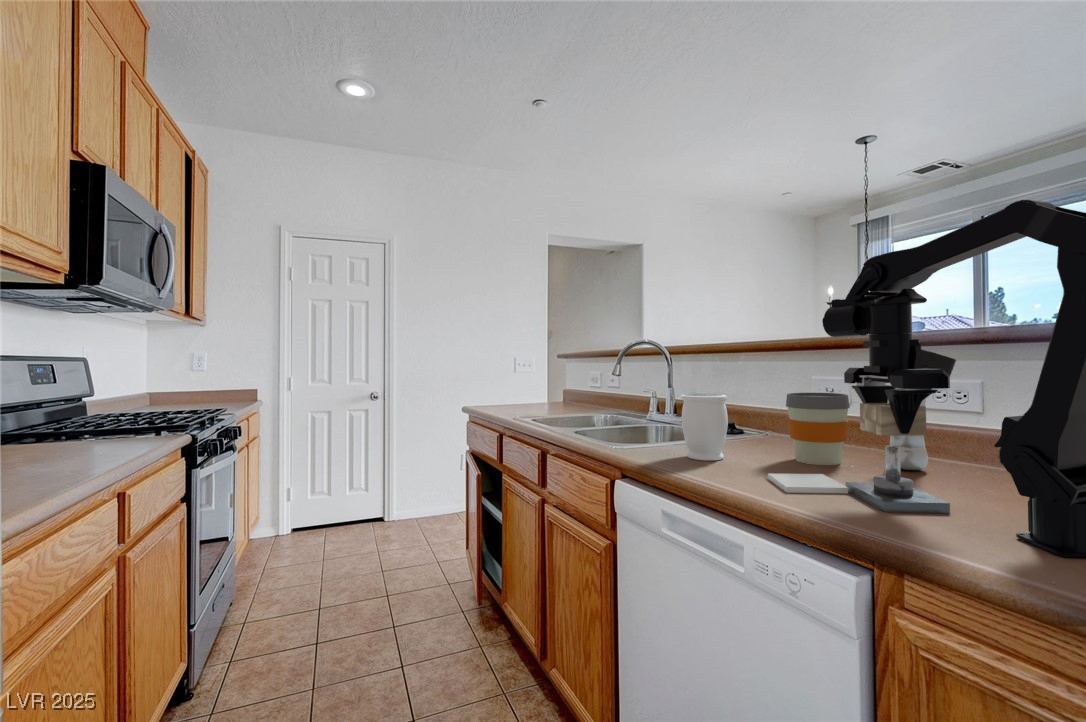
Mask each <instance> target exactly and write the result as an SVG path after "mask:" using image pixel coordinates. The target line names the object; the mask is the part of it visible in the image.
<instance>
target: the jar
mask: <svg viewBox="0 0 1086 722" xmlns="http://www.w3.org/2000/svg"><path fill="white" fill-rule="evenodd" d="M680 398H681V400H682V401H683V404H682V408H681V427H682V432H683V438H684V443H685V445H686V447H687V449H688V451H687V452H686V457H687V458H689V459H692V460H696V461H705V462H706V461H707V462H708V461H709V462H712V461H720V460H724V458H725V456H724V454H723V452H722V451H723V449H724V448H725V444H726V440H727V431H728V425H729V424H728V423H729V417H728V410H727V409H728V408H727V405H726V401H727V400H728V396H727V394H722V393H686V394H685V393H684V394H681V397H680Z"/></svg>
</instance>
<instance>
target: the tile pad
mask: <svg viewBox="0 0 1086 722" xmlns="http://www.w3.org/2000/svg"><path fill="white" fill-rule="evenodd" d="M767 480H769V481H770V482H771V483H773V484H775V485H776V486H777V487H778V488H780V489H781V490H782V491H783V492H785V493H787V494H790V493H791V494H793V493H794V494H796V493H797V494H845V495H846V494H847V495H848V494H849V492H848V487H846V485H844V484H842V483H841V482H838V481H836V480H835V479H833V478H831V477H829V476H827V475H826V474H824V473H771V472H770V473H767Z"/></svg>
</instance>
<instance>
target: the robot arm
mask: <svg viewBox="0 0 1086 722" xmlns="http://www.w3.org/2000/svg"><path fill="white" fill-rule="evenodd" d="M1024 238H1031V239H1032V240H1035V241H1038V242H1040V243H1044V244H1046V245H1049V246H1054V247H1056V248H1057V259H1056V261H1057V262H1056V269H1057V272H1058V277H1059V279H1060V280H1059V281H1060V283H1061V285H1062V289H1063V290H1062V291H1063V293H1062V294H1063V295H1062V299H1061V302H1060V306H1059V309H1058V312H1057V316H1056V319H1055V323H1054V327H1053V329H1052V333H1051V336H1050V339H1049V340H1050V341H1049V343H1048V347H1047V349H1046V354H1045V357H1044V360H1043V364H1042V368H1041V371H1040V375H1039V378H1038V381H1037V385H1036V388H1035V391H1034V396H1033V399H1032V401H1031V404H1030V406H1029V408H1028V410H1026V412H1025V413H1024V414H1023V415H1014V416H1013V415H1012V416H1005V417H1004V418H1003V420H1002V422H1001V432H1000V436H999V438H998V441H996V442H995V443H994V445H993V447H994V448H999V450H998V460H999V463H1000V464H1001V465H1002V466H1003V467H1004V468H1005V470H1006V472H1008V473H1009V474H1010V475H1011V479H1012V481H1013V482H1014V484H1015V487H1016V489H1017V492H1018V494H1019V495H1020V496H1021V497H1025V498H1026V497H1027V498H1028V501H1027V522H1028V523H1027V524H1028V530H1027V531H1028V532H1026V533H1025V532H1016V534H1015V535H1016V538H1018V539H1020V540H1022V541H1025V542H1026V543H1029V544H1032V545H1034V546H1036V547H1038V548H1040V549H1042V550H1044V551H1048V552H1050V553H1052V554H1054V555H1056V556H1059V557H1064V558H1065V557H1066V558H1086V212H1084V211H1079V210H1075V209H1070V208H1065V207H1062V206H1057V205H1054V204H1053V203H1052V202H1051V203H1050V202H1047V201H1041V200H1033V199H1020V200H1016V201H1014V202H1012V203H1010V204H1009V205H1007V206H1005V208H1003V209H1001V210H999V211H996V212H993V213H991V214H989V215H986V216H985V217H983V218H979V219H977V220H975V221H973V222H971V223H968V224H966V225H964V226H962V227H960V228H958V229H957V228H956V229H955V230H953V231H950V232H948V233H946V234H943V235H941V236H939V237H936V238H934V239H931V240H930V241H927V242H925V243H923V244H921V245H919V246H915V247H911V248H906V249H900V250H894V251H890V252H886V253H882V254H878V255H874V256H872V257H870V258H868V259H866V261H865V262H864V263H863V265H862V268H861V271H860V273H859V274H858V276H857V278H856V280H855V281H854V283H853V284H852V287H851V288H850V290H849V292H848V293H847V295H846V296H845V298H842V299H841V298H837V299H836V298H835V299H832V300H831V301H830V302H831V304H830V305H831V306H830V307H829V308H827V309H826V310H825V311H824V312H825V313H824V315H823V318H822V328H823V330H824V331H825V333H826V334H827V336H830V337H831V338H845V337H862V336H867V335H868V340H867V341H866V340H864V341H863V343H862V344H863V346H862V347H863V348H868V357H869V358H868V360H869V361H868V362H869V363H868V365H863V366H862V367H861V366H860V367H856V366H855V367H849V368H848V369H846V370H845V371H844V372H843V375H844V376H843V377H844V378H843V379H844V381H843V382H844V383H845V384H855V385H851V389H853V390H854V391H855V393H856V394H857V396H858V398H859V399H860V401H861V403H888V401H889V404H890V407H891V410H892V413H893V415H894V418H895V421H896V424H897V427H898V429H899V431H900V433H901V434H908V433H909V432H910V429H911V427H912V424H913V422H914V419H915V416H916V414H917V411H918V409H919V407H920V405H921V402H922V401H923V400H924V399H925V398H926V399H927V398H928V397H930V396H931V395H932V394H936V393H937V392H938V391H939V390H940V389H950V388H951V382H950V381H951V374H952V372H953V370H954V367H955V364H956V361H957V359H955V358H954V357H953V358H952V357H949V356H945V355H943V354H939V353H937V352H933V351H928V350H925V349H922V344H921V341H920V339H917V338H916V339H913V316H912V315H913V314H912V305H916V304H917V305H918V304H925V303H927V301H928V299H927V297H924V296H923V295H921V294H919V293H918V292H917V291H916V290H915V288H916V287H917V286H919V285H921V284H923V283H924V282H926V281H927V280H928V279H930V277H932V275H934V274H935V273H937V272H939V271H940V270H942V269H945V268H947V267H950V266H953V265H955V264H958V263H961V262H963V261H966V260H968V259H971V258H972V259H973V258H974V257H976V256H979V255H982V254H984V253H987V252H989V251H992V250H995V249H998V248H1001V247H1003V246H1006V245H1008V244H1011V243H1014V242H1016V241H1019V240H1021V239H1024ZM889 384H890V385H889ZM895 388H897V389H895ZM938 389H939V390H938Z"/></svg>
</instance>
